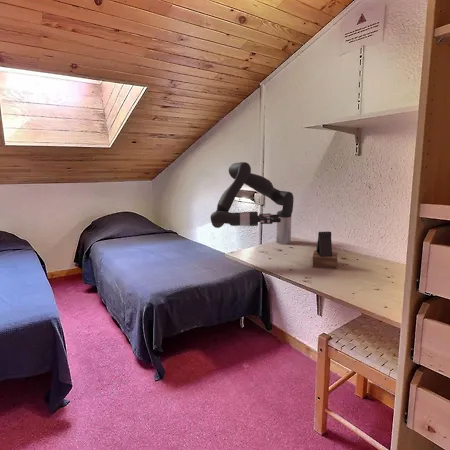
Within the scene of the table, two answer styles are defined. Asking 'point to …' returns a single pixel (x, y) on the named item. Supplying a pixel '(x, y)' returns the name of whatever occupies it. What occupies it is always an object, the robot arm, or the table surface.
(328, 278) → the table surface
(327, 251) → the phone stand
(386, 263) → the table surface
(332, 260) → the walnut block
